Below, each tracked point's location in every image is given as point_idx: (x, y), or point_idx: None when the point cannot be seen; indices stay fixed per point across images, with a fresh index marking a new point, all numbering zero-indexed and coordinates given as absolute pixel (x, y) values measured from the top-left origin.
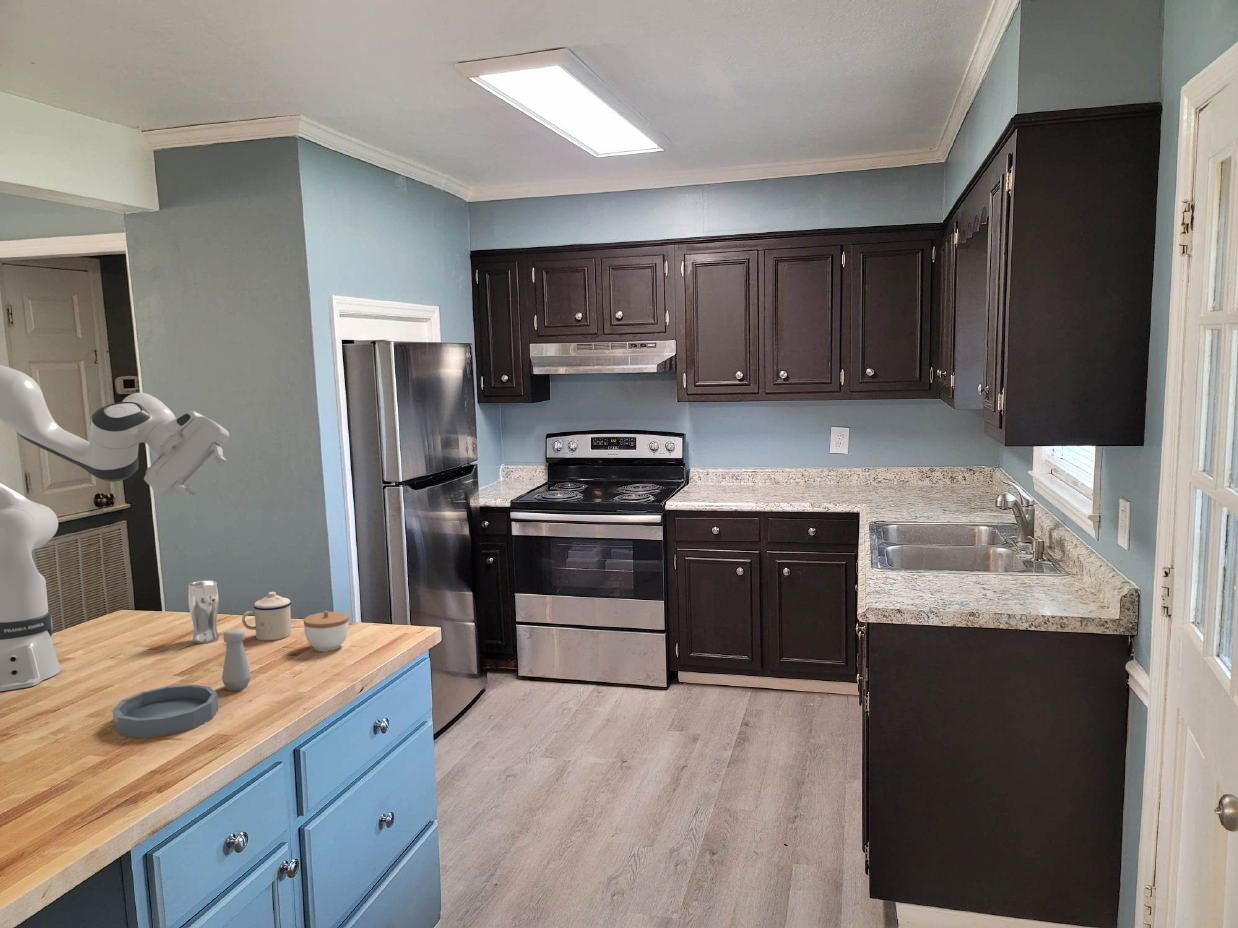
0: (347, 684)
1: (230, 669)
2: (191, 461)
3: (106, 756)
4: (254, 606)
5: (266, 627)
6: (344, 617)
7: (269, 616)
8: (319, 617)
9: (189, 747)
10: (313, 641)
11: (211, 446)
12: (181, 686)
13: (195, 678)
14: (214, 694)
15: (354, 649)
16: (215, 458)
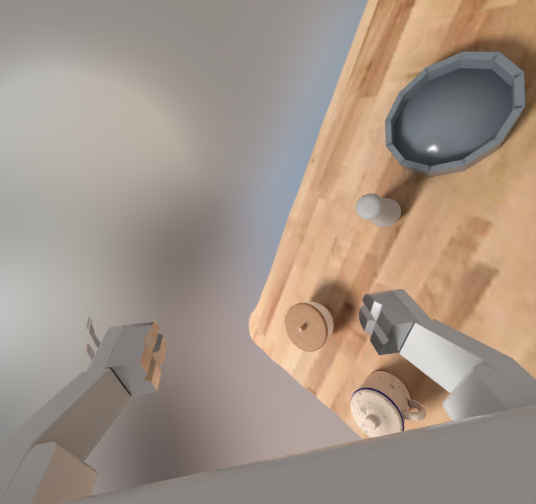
0: (291, 213)
1: (383, 198)
2: (284, 467)
3: (486, 9)
4: (400, 415)
5: (386, 380)
6: (287, 319)
7: (377, 385)
8: (309, 328)
9: (392, 61)
10: (323, 306)
11: (8, 499)
12: (441, 165)
13: (454, 251)
14: (388, 143)
15: (296, 303)
16: (131, 354)
